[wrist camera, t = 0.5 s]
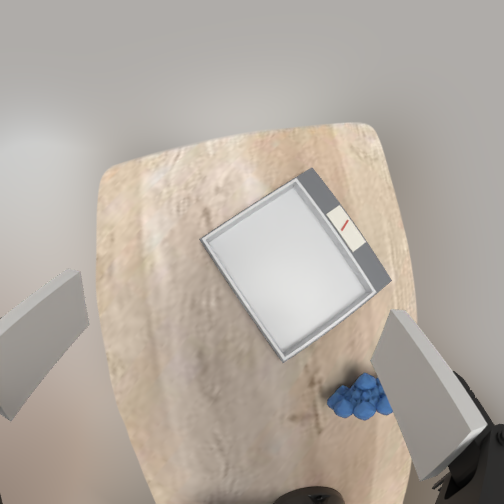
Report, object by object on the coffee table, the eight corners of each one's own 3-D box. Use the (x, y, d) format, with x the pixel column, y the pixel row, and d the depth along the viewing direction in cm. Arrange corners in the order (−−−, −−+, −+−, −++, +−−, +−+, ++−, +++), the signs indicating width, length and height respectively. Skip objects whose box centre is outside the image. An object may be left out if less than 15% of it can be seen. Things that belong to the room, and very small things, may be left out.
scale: (383, 281, 42) (401, 279, 36) (281, 358, 41) (285, 368, 35) (308, 174, 45) (315, 158, 39) (203, 242, 44) (194, 234, 38)
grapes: (382, 353, 41) (419, 368, 29) (386, 388, 40) (420, 410, 28) (318, 372, 41) (338, 398, 29) (323, 408, 39) (343, 440, 28)
